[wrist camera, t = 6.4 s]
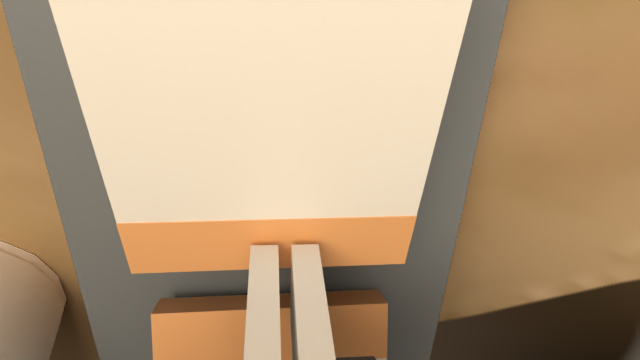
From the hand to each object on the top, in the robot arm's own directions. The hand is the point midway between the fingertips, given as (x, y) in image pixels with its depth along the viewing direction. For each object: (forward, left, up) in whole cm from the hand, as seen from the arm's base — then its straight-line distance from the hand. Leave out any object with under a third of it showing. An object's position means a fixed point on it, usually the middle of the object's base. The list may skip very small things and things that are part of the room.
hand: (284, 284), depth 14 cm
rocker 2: (0, +5, -1) cm, 5 cm away
